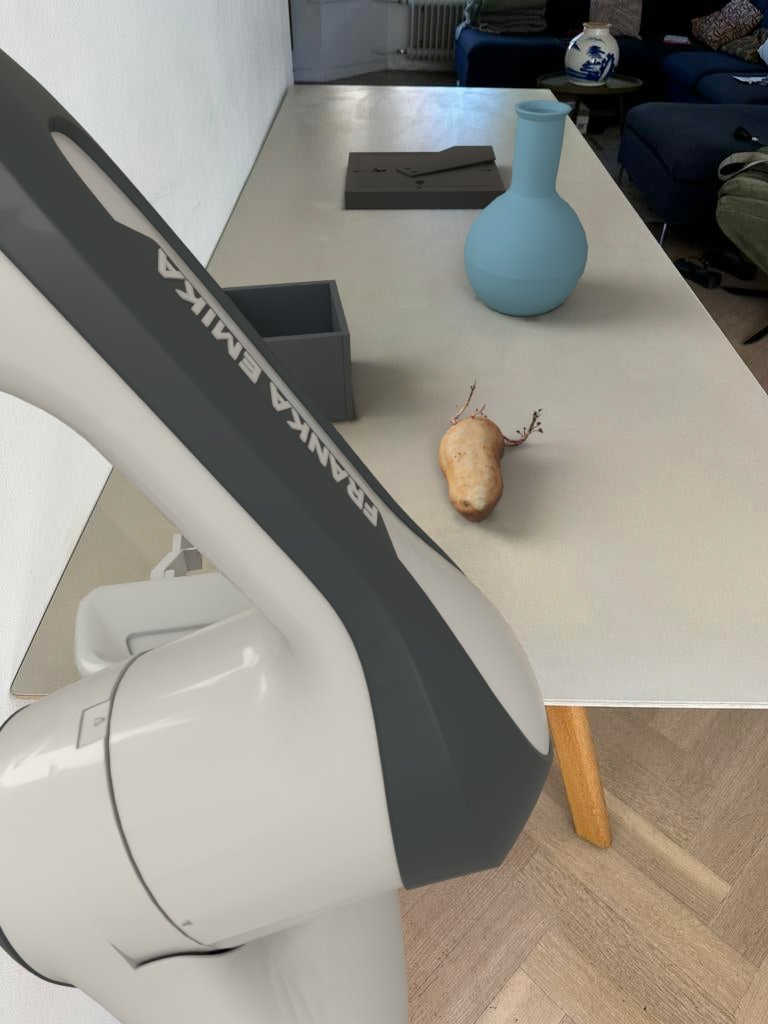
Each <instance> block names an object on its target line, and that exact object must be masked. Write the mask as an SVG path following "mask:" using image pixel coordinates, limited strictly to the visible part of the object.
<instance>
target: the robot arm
mask: <svg viewBox="0 0 768 1024" xmlns="http://www.w3.org/2000/svg"><path fill="white" fill-rule="evenodd" d="M222 288H223V287H221V286H220V285H219V283H218V282H217V281H216V279H215V278H214V277H213V276H212V275H211V274H210V272H209V271H208V270H207V269H206V268H205V266H204V265H203V264H202V263H201V261H199V259H198V258H197V257H196V256H195V255H194V253H193V252H192V251H191V249H189V247H187V246H186V244H185V243H184V242H183V241H182V239H181V238H180V237H179V236H178V234H177V233H176V232H175V231H174V229H173V228H171V226H170V225H169V224H168V223H167V222H166V220H165V219H164V217H162V216H161V215H160V213H159V212H158V211H157V210H156V208H155V207H154V206H153V205H152V204H151V203H150V202H149V200H148V199H147V198H146V197H145V195H144V194H143V193H142V192H141V191H140V190H139V189H138V187H137V186H136V184H134V183H133V182H132V180H131V179H130V178H129V177H128V176H127V175H126V173H125V172H124V171H123V170H122V169H121V168H120V167H119V165H118V164H117V163H116V162H115V161H114V160H113V159H112V158H111V156H110V155H109V154H108V153H107V152H106V150H105V149H103V148H102V146H101V145H100V144H99V142H97V141H96V140H95V138H94V137H93V136H92V135H91V134H90V133H89V132H88V131H87V129H85V128H84V127H83V125H81V123H80V122H79V121H78V120H77V119H76V118H75V117H74V116H73V115H72V114H71V113H70V112H69V111H68V110H67V108H65V107H64V106H63V105H62V103H61V102H59V100H58V99H56V98H55V97H54V95H53V94H52V93H50V92H49V90H48V89H47V88H45V86H44V85H42V83H40V82H39V80H37V78H35V77H34V76H33V75H32V74H30V72H28V71H27V70H26V69H25V68H24V67H23V66H22V65H20V64H19V62H17V61H16V60H14V58H12V57H11V56H10V54H8V53H7V52H5V50H3V49H2V48H1V47H0V392H2V393H5V394H7V395H10V396H12V397H15V398H17V399H19V400H21V401H23V402H25V403H27V404H30V405H31V406H33V407H35V408H38V409H39V410H42V411H43V412H45V413H47V414H49V415H50V416H52V417H53V418H55V419H57V420H58V421H60V422H61V423H63V424H64V425H65V426H66V427H68V428H69V429H71V430H72V431H73V432H75V433H76V434H77V435H78V436H80V437H81V438H82V439H84V440H85V441H86V442H87V443H88V444H89V445H90V446H92V447H93V449H95V450H96V451H97V452H98V453H99V454H100V455H101V456H102V457H103V458H104V459H105V460H106V461H107V462H108V463H109V464H110V465H111V466H112V467H113V468H114V469H115V470H116V471H117V472H118V473H119V474H120V475H121V476H122V477H123V478H124V479H125V480H126V481H127V482H128V483H129V484H130V485H131V486H132V487H133V488H134V489H135V490H136V491H137V492H138V493H139V494H140V495H141V496H142V497H143V498H144V499H145V500H146V501H147V502H148V503H149V504H150V505H151V506H152V507H153V508H154V509H155V510H157V512H158V513H160V515H162V516H163V518H165V520H167V521H168V522H169V524H171V525H172V526H173V527H174V528H175V530H177V531H178V532H179V533H174V534H173V536H172V548H171V549H172V550H170V551H169V552H168V553H167V554H166V555H165V556H164V557H163V558H162V559H161V560H160V561H159V563H157V565H156V566H154V568H153V569H152V570H151V571H150V573H149V574H150V576H149V580H141V581H133V582H124V583H116V584H106V585H100V586H97V587H95V588H94V589H93V590H91V591H90V592H89V593H88V594H87V595H86V596H84V597H83V598H82V599H81V600H80V601H79V603H78V606H77V610H76V615H75V623H74V639H73V643H74V644H73V653H74V654H73V656H74V664H75V668H76V670H77V672H78V675H79V677H80V679H77V680H75V681H73V682H71V683H69V684H67V685H65V686H62V687H60V688H58V689H56V690H54V691H52V692H50V693H48V694H46V695H45V696H43V697H41V698H39V699H38V700H35V701H34V702H32V703H29V704H27V705H24V706H22V707H21V708H18V709H17V710H16V711H14V712H13V713H12V714H11V715H9V716H8V718H6V719H5V721H4V722H3V723H2V724H1V726H0V947H1V949H2V950H3V951H4V952H5V953H6V954H7V955H8V956H9V957H10V958H11V959H12V960H13V961H14V962H16V963H17V964H18V965H19V966H21V967H22V968H24V969H25V970H26V971H27V972H28V973H30V974H32V975H34V976H35V977H37V978H38V979H40V980H43V981H44V982H47V983H50V984H53V985H57V986H61V987H67V988H73V989H78V990H80V991H81V992H82V993H83V994H85V995H86V996H88V997H89V998H90V999H92V1000H93V1001H94V1002H96V1003H97V1004H98V1005H99V1006H100V1007H102V1008H103V1009H104V1010H105V1011H107V1012H108V1013H109V1014H110V1015H111V1016H112V1017H113V1018H115V1019H116V1020H117V1021H118V1022H119V1023H120V1024H410V1023H409V1021H410V1020H409V1018H410V1017H409V1013H410V1012H409V988H408V987H409V986H408V972H407V957H406V947H405V938H404V937H405V935H404V925H403V917H402V910H401V909H402V908H401V903H400V895H399V889H400V888H404V889H405V890H406V892H407V891H410V890H411V891H412V890H415V889H418V888H422V887H426V886H430V885H433V884H437V883H441V882H445V881H450V880H453V879H457V878H461V877H465V876H469V875H472V874H476V873H477V874H478V873H481V872H485V871H489V870H492V869H497V868H500V867H501V866H502V865H503V863H504V861H505V859H506V858H507V856H508V855H509V853H510V852H511V850H512V848H513V847H514V845H515V844H516V842H517V840H518V839H519V837H520V835H521V834H522V832H523V830H524V828H525V826H526V825H527V822H528V821H529V820H530V817H531V815H532V813H533V811H534V809H535V807H536V805H537V803H538V801H539V798H540V796H541V795H542V791H543V789H544V786H545V784H546V781H547V778H548V777H549V773H550V770H551V767H552V765H553V761H554V753H555V752H554V747H553V742H552V738H551V734H550V729H549V728H550V727H549V721H548V716H547V710H546V705H545V701H544V698H543V694H542V691H541V688H540V685H539V681H538V678H537V677H536V674H535V672H534V668H533V666H532V665H531V661H530V660H529V658H528V655H527V654H526V651H525V649H524V647H523V645H522V644H521V642H520V640H519V638H518V637H517V634H515V632H514V630H513V628H512V626H511V625H510V624H509V622H508V621H507V620H506V618H505V617H504V615H503V614H502V612H501V611H500V610H499V609H498V608H497V606H496V605H495V604H494V602H492V600H491V599H490V598H489V597H488V596H487V595H486V594H485V593H484V592H483V591H482V590H481V589H480V588H479V587H478V586H477V585H476V584H475V583H474V582H473V581H472V580H471V579H470V578H469V577H468V576H467V575H466V574H465V573H464V572H463V570H462V569H461V568H460V566H458V565H457V564H456V562H455V561H454V560H453V559H452V558H451V557H450V556H449V555H448V554H447V553H446V552H445V551H444V550H443V548H441V546H440V545H438V543H436V541H434V539H433V538H432V537H431V536H430V535H429V534H427V532H426V531H424V530H423V529H422V528H421V526H419V524H417V523H416V522H415V520H414V519H413V518H411V517H410V515H409V514H408V513H407V512H406V511H405V510H404V509H403V508H402V507H401V506H400V504H399V503H398V502H397V501H396V500H395V499H394V498H393V496H392V495H391V494H390V493H389V492H388V491H387V490H386V488H385V487H384V486H383V484H382V483H381V482H380V481H379V480H378V478H377V477H376V476H375V475H374V474H373V472H372V471H371V470H370V469H369V467H368V466H367V464H365V463H364V462H363V460H362V458H360V457H359V455H358V454H357V453H356V451H355V450H354V449H353V448H352V447H351V445H350V444H349V443H348V441H346V439H345V438H344V436H342V434H341V433H340V432H339V431H338V429H337V428H336V427H335V426H334V425H333V423H332V422H330V421H329V420H328V418H327V417H326V416H325V415H324V414H323V412H322V411H321V410H320V409H319V407H318V406H317V405H316V404H315V402H314V401H313V400H312V399H311V398H310V396H309V395H308V394H307V393H306V391H305V390H304V389H303V388H302V386H301V385H300V384H299V383H298V382H297V380H296V379H295V378H294V377H293V375H292V374H291V373H290V372H289V370H288V369H287V368H286V367H285V366H284V364H283V363H282V362H281V361H280V359H279V358H278V357H277V356H276V354H275V353H274V352H273V351H272V350H271V348H270V347H269V346H268V345H267V343H266V342H265V341H264V340H263V338H262V337H261V336H260V335H259V334H258V332H257V331H256V330H255V329H254V327H253V326H252V325H251V324H250V322H249V321H248V320H247V319H246V318H245V316H244V315H243V314H242V313H241V311H240V310H239V309H238V308H237V306H236V305H235V304H234V303H233V302H232V300H231V299H230V298H229V297H228V295H227V294H226V293H225V292H224V291H223V289H222ZM203 557H204V558H205V559H206V560H207V561H208V562H209V563H210V564H211V565H212V566H213V567H214V568H215V569H216V570H217V571H213V572H208V573H207V572H206V573H198V574H191V575H188V573H189V572H193V571H197V570H203Z"/></svg>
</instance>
